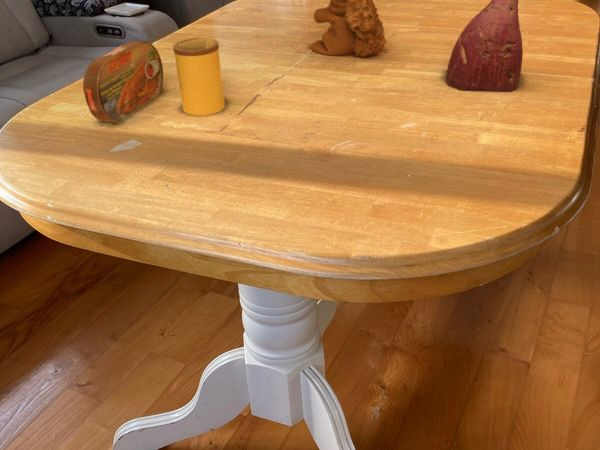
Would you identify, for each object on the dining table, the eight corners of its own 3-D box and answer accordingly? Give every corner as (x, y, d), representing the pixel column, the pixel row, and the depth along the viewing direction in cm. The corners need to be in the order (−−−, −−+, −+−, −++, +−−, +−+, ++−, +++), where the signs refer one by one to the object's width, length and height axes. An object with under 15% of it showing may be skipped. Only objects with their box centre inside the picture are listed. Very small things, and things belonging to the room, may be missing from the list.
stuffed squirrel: (348, 37, 105) (348, -42, 98) (403, 55, 96) (408, -31, 88) (303, 48, 101) (300, -34, 93) (357, 68, 91) (358, -21, 84)
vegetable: (497, 89, 90) (534, -13, 84) (525, 106, 81) (568, -7, 75) (433, 76, 89) (465, -30, 82) (453, 92, 79) (491, -26, 73)
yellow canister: (177, 118, 77) (165, 51, 72) (190, 102, 82) (181, 37, 77) (219, 120, 76) (211, 51, 71) (230, 103, 81) (223, 38, 76)
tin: (109, 134, 74) (94, 69, 69) (88, 131, 75) (72, 67, 70) (169, 91, 86) (159, 33, 81) (150, 90, 86) (139, 32, 82)
